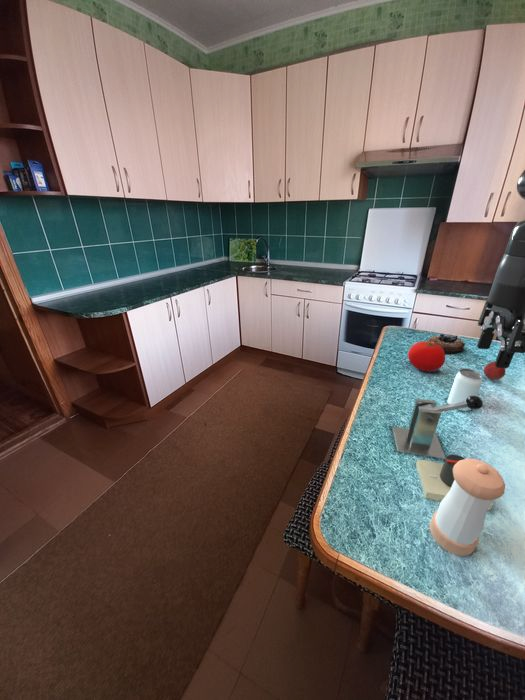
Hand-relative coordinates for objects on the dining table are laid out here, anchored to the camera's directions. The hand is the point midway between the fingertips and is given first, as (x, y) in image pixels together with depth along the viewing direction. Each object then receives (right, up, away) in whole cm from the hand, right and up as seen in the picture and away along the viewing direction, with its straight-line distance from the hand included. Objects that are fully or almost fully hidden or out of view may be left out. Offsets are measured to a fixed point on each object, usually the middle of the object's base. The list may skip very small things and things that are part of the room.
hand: (491, 357), depth 61 cm
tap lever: (-3, -13, +8) cm, 16 cm away
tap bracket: (-8, -23, +15) cm, 29 cm away
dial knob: (-7, -27, +2) cm, 28 cm away
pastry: (+30, +2, +64) cm, 71 cm away
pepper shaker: (-13, -34, -6) cm, 37 cm away
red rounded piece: (+32, -9, +41) cm, 53 cm away
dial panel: (-7, -29, +3) cm, 30 cm away
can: (+12, -16, +28) cm, 35 cm away
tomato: (+13, -6, +49) cm, 51 cm away
